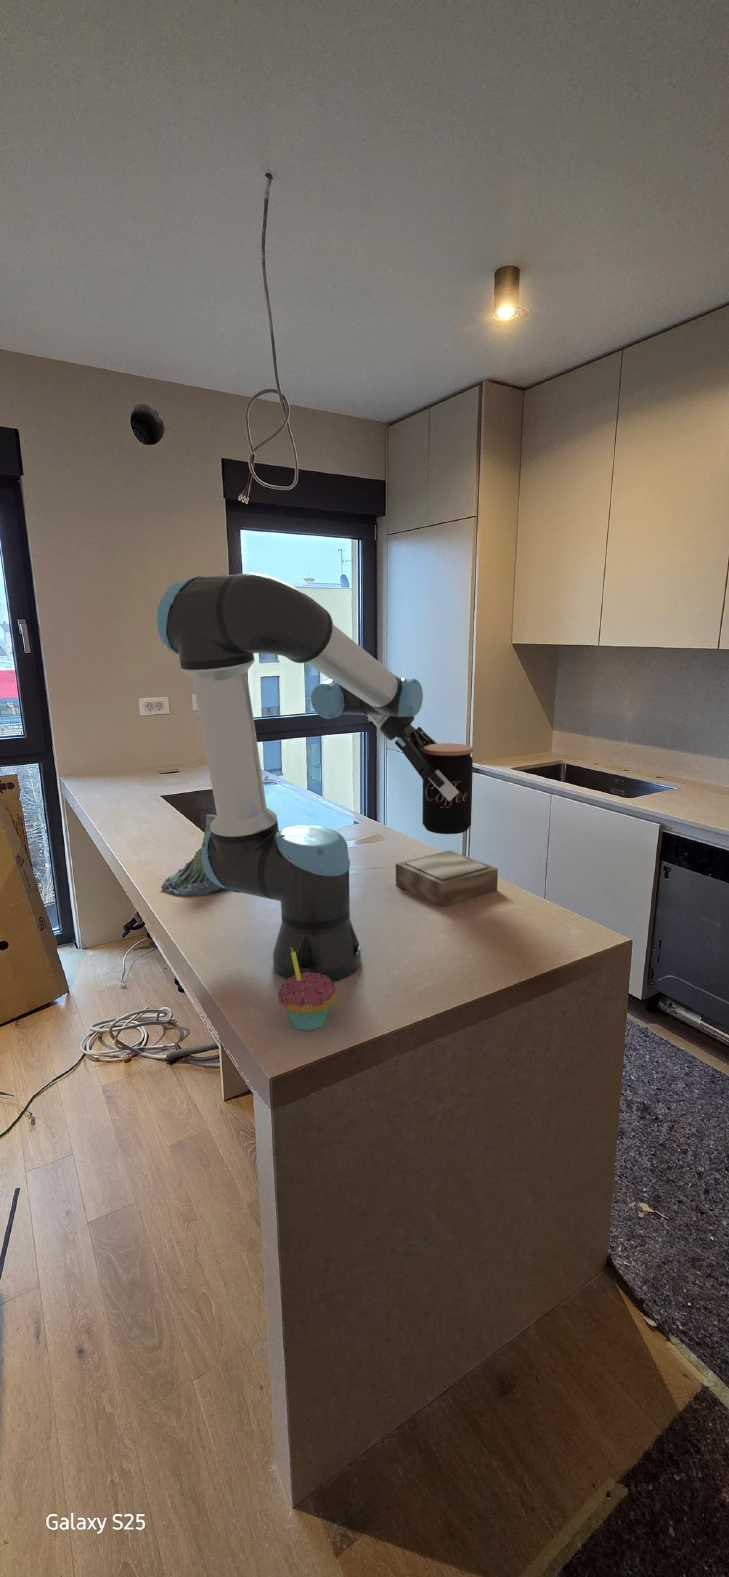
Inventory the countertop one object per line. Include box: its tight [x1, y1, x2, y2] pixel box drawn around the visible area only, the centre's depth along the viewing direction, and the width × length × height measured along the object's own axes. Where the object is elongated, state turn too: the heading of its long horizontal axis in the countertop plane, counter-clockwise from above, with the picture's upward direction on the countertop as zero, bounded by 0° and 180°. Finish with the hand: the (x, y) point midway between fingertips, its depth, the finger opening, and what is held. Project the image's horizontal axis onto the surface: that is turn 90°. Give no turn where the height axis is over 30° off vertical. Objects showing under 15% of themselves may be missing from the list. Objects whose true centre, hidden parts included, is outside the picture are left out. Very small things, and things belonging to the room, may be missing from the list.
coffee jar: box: [422, 742, 474, 835], centre depth 143 cm, size 11×11×18 cm
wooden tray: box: [395, 850, 499, 908], centre depth 147 cm, size 16×16×5 cm
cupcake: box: [277, 948, 338, 1031], centre depth 95 cm, size 9×8×12 cm
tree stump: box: [161, 813, 226, 897], centre depth 154 cm, size 18×20×18 cm
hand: (460, 790), depth 142 cm, fingers closed on coffee jar, 11 cm apart
